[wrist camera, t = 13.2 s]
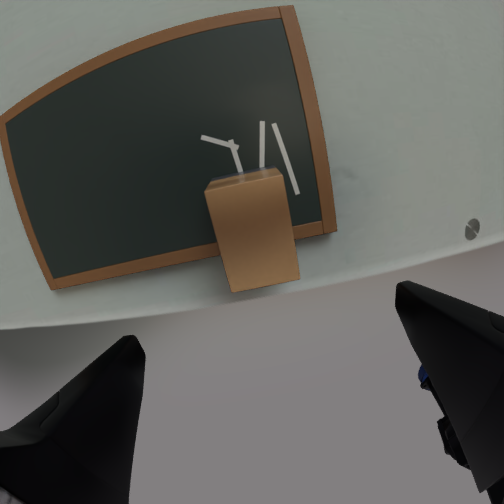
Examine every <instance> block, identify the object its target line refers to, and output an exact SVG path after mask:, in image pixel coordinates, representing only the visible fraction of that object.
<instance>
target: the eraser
mask: <svg viewBox="0 0 504 504" xmlns="http://www.w3.org/2000/svg"><path fill="white" fill-rule="evenodd" d="M204 194H205V198H206V201H207V205H208V209H209V213H210V217H211V220H212V224H213V228H214V232H215V235H216V239H217V243H218V246H219V250H220V254H221V257H222V261H223V264H224V268H225V272H226V275H227V279H228V282H229V286H230V289H231V292H232V293H234V292H239V291H244V290H250V289H255V288H260V287H265V286H270V285H275V284H280V283H285V282H289V281H294V280H299V279H300V273H299V266H298V260H297V254H296V247H295V241H294V235H293V229H292V223H291V217H290V211H289V206H288V200H287V194H286V189H285V184H284V178H283V175H282V174H281V173H280V171H279V170H278V169H277V168H276V167H275V166H274V165H272V166H267V167H262V168H257V169H252V170H247V171H243V172H238V173H233V174H229V175H225V176H220V177H216V178H212V180H211V181H210V183H209V185H208V186H207V188H206V190H205V191H204Z"/></svg>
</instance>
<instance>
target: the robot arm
mask: <svg viewBox="0 0 504 504" xmlns="http://www.w3.org/2000/svg"><path fill="white" fill-rule="evenodd" d="M395 307H396V310H397V313H398V315H399V317H400V319H401V322H402V324H403V326H404V329H405V331H406V333H407V336H408V338H409V340H410V343H411V345H412V347H413V349H414V351H415V352H416V354H417V356H418V358H419V360H420V361H421V363H422V365H423V367H424V369H425V371H426V373H427V375H428V376H427V378H426V379H425V380H424V381H423V382H422V384H421V385H420V386H421V388H422V389H430V391H431V392H432V394H433V396H434V398H435V399H436V401H437V403H438V405H439V407H440V408H441V410H442V412H443V414H444V417H443V418H442V419H439V420H438V421H437V423H438V429H439V432H440V434H441V437H442V440H443V444H444V450H445V453H446V454H448V455H451V457H452V458H454V459H455V460H456V461H457V463H459V465H461V466H463V467H465V468H467V469H469V470H471V472H472V474H473V477H474V479H475V483H476V485H477V488H478V491H479V493H481V492H483V491H484V490H487V492H488V495H489V498H490V501H491V504H504V317H503V316H501V315H498V314H496V313H493V312H491V311H489V312H488V310H485V309H483V308H480V307H477V306H475V305H473V304H470V303H467V302H465V301H462V300H459V299H457V298H454V297H452V296H449V295H446V294H444V293H441V292H438V291H435V290H432V289H430V288H427V287H425V286H422V285H419V284H417V283H413V282H411V281H403V282H400V283H398V284H397V286H396V298H395ZM145 358H146V357H145V352H144V350H143V348H142V347H141V345H140V343H139V341H138V339H137V338H136V336H134V335H127V336H123V337H122V338H121V339H119V340H118V341H117V342H116V343H115V344H114V345H112V346H111V347H110V348H109V349H108V350H106V351H105V352H104V353H103V354H101V355H100V356H99V357H98V358H97V359H96V360H94V361H93V362H92V363H91V364H90V365H88V366H87V367H86V368H85V369H84V370H83V371H81V372H80V373H79V374H78V375H77V376H75V377H74V378H73V379H72V380H71V381H70V382H68V383H67V384H66V385H65V386H64V387H63V388H61V389H60V391H58V392H57V393H56V394H54V395H53V396H52V397H51V398H50V399H48V400H47V401H46V402H45V403H43V404H42V405H41V406H40V407H38V408H37V409H36V410H35V411H33V412H32V413H31V414H29V415H28V416H26V417H25V418H24V419H22V420H21V421H20V422H18V423H17V424H16V425H14V426H13V427H11V428H10V429H8V430H5V431H0V504H129V491H130V480H131V471H132V463H133V455H134V447H135V440H136V432H137V426H138V420H139V414H140V408H141V401H142V396H143V384H144V372H145Z"/></svg>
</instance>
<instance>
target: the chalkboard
mask: <svg viewBox="0 0 504 504" xmlns="http://www.w3.org/2000/svg"><path fill="white" fill-rule="evenodd" d="M0 140H1V145H2V150H3V155H4V160H5V164H6V168H7V172H8V176H9V180H10V184H11V188H12V191H13V195H14V198H15V201H16V204H17V208H18V211H19V214H20V217H21V220H22V223H23V225H24V228H25V231H26V234H27V236H28V239H29V241H30V244H31V247H32V249H33V252H34V254H35V256H36V259H37V261H38V263H39V266H40V268H41V270H42V272H43V275H44V277H45V279H46V281H47V283H48V285H49V287H50V289H51V290H56V289H61V288H65V287H70V286H75V285H79V284H84V283H89V282H94V281H98V280H103V279H108V278H113V277H117V276H122V275H127V274H132V273H137V272H141V271H146V270H151V269H156V268H160V267H165V266H170V265H175V264H180V263H184V262H189V261H194V260H199V259H204V258H209V257H213V256H218V255H221V254H220V250H219V246H218V243H217V239H216V235H215V232H214V228H213V224H212V220H211V217H210V213H209V209H208V205H207V201H206V198H205V194H204V191H205V190H206V188H207V186H208V185H209V183H210V181H211V180H212V178H216V177H220V176H225V175H229V174H233V173H238V172H243V171H247V170H252V169H257V168H262V167H267V166H272V165H274V166H275V167H276V168H277V169H278V170H279V171H280V173H281V174H282V175H283V178H284V184H285V189H286V194H287V200H288V206H289V211H290V217H291V223H292V229H293V235H294V240H296V239H301V238H306V237H311V236H316V235H321V234H323V233H324V234H326V233H331V232H336V231H337V224H336V215H335V206H334V198H333V190H332V183H331V176H330V169H329V162H328V156H327V150H326V144H325V138H324V132H323V127H322V121H321V116H320V111H319V106H318V101H317V96H316V91H315V87H314V82H313V78H312V73H311V69H310V65H309V61H308V57H307V53H306V49H305V45H304V41H303V37H302V34H301V30H300V26H299V23H298V19H297V16H296V13H295V9H294V6H293V5H288V6H279V7H268V8H259V9H252V10H246V11H239V12H234V13H228V14H223V15H218V16H214V17H209V18H205V19H201V20H197V21H193V22H189V23H185V24H182V25H178V26H175V27H172V28H168V29H165V30H162V31H159V32H156V33H153V34H150V35H147V36H145V37H142V38H139V39H137V40H134V41H131V42H129V43H126V44H124V45H121V46H119V47H117V48H114V49H112V50H110V51H108V52H105V53H103V54H101V55H99V56H97V57H95V58H93V59H91V60H89V61H87V62H85V63H83V64H81V65H79V66H77V67H75V68H73V69H71V70H69V71H68V72H66V73H64V74H62V75H60V76H59V77H57V78H55V79H54V80H52V81H50V82H49V83H47V84H45V85H44V86H42V87H41V88H39V89H38V90H36V91H34V92H33V93H31V94H30V95H28V96H27V97H26V98H24V99H23V100H21V101H20V102H18V103H17V104H16V105H14V106H13V107H12V108H10V109H9V110H8V111H6V112H5V113H4V114H2V115H1V116H0Z"/></svg>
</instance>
